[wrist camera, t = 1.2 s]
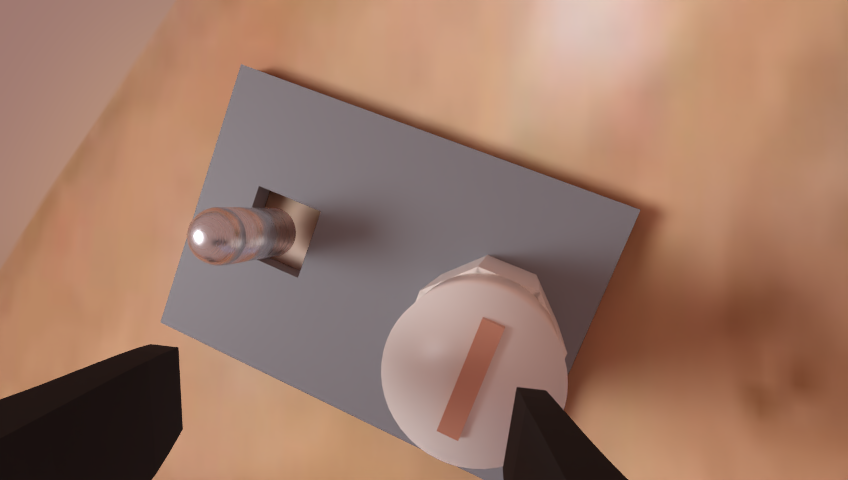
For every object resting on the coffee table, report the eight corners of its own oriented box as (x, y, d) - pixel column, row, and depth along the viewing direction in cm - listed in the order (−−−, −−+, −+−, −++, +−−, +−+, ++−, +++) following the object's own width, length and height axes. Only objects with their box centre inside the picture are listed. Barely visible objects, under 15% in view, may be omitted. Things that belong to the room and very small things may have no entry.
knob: (572, 289, 18) (600, 333, 11) (523, 402, 19) (524, 506, 12) (453, 241, 19) (416, 257, 12) (410, 351, 19) (353, 422, 13)
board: (634, 209, 18) (640, 209, 17) (515, 481, 20) (515, 495, 19) (254, 71, 21) (241, 64, 20) (176, 317, 23) (160, 322, 22)
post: (302, 218, 20) (236, 220, 15) (286, 263, 20) (217, 278, 15) (260, 201, 20) (183, 197, 15) (245, 245, 20) (165, 254, 16)
